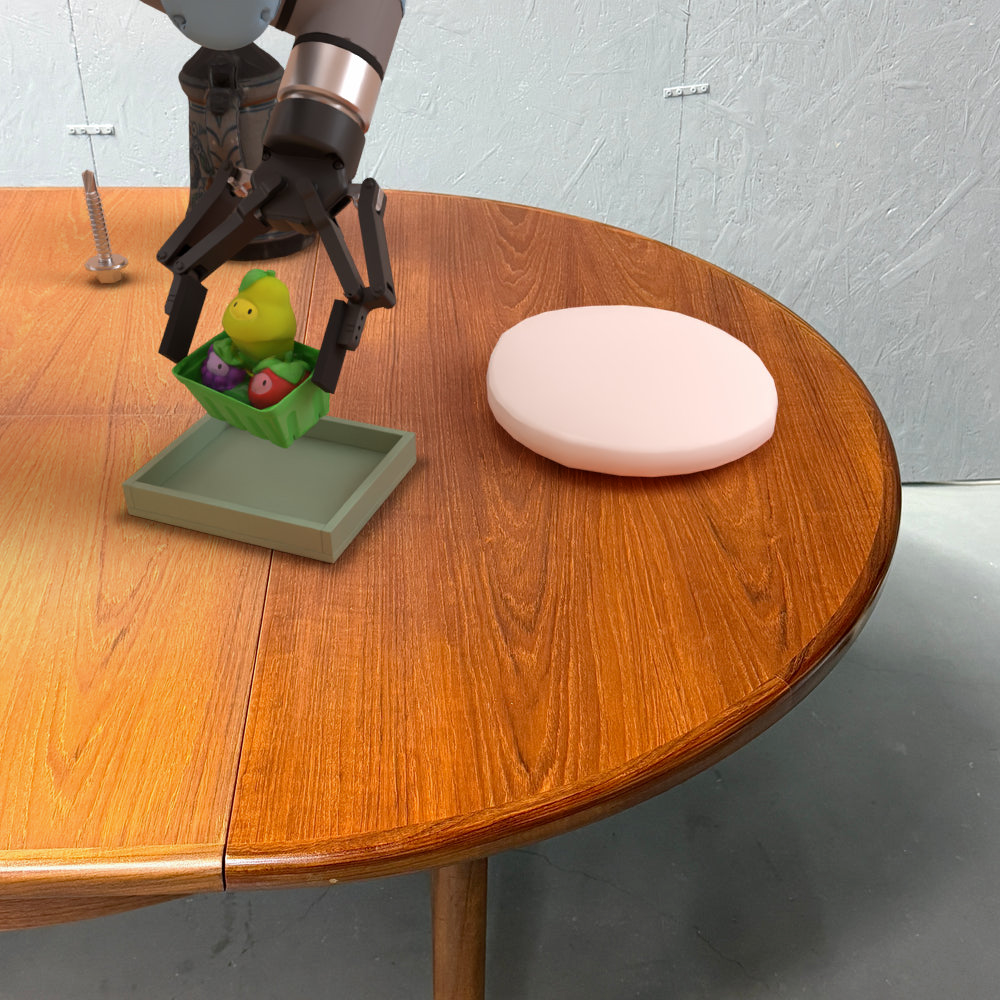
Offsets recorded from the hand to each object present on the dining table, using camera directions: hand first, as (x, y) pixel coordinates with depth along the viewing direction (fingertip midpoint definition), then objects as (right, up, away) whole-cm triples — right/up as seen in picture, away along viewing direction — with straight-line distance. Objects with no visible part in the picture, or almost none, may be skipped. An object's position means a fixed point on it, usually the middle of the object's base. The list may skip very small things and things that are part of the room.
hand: (245, 373), depth 82 cm
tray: (+1, -9, +9) cm, 12 cm away
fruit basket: (+1, -3, +4) cm, 5 cm away
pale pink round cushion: (+31, -1, +20) cm, 37 cm away
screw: (-27, +16, +45) cm, 55 cm away
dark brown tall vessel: (-11, +23, +56) cm, 61 cm away
